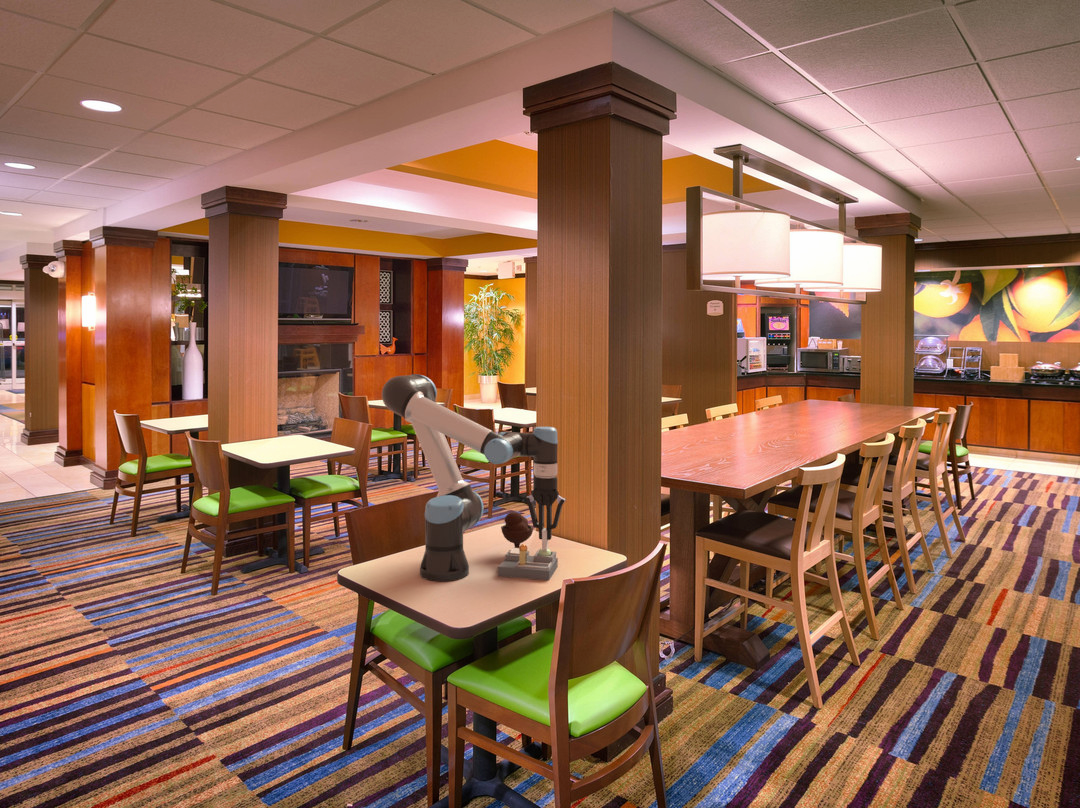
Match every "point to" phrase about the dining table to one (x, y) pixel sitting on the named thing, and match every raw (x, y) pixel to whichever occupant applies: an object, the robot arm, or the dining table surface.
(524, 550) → the brass lever
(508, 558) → the console
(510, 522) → the ice cream bowl
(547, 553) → the green button
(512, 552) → the rocker
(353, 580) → the dining table surface
